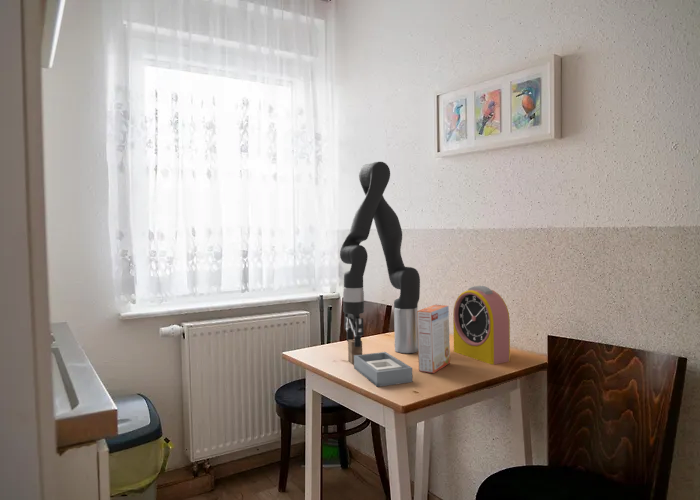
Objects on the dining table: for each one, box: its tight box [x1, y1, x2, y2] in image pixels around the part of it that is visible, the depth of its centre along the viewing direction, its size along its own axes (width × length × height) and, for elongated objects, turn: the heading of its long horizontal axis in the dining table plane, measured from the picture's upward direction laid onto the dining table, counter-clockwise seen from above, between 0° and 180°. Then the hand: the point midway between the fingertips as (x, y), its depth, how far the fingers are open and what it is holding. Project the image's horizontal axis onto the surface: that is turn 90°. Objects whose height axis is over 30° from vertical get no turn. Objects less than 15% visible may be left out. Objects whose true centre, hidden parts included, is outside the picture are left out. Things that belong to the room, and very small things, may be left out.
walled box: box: [353, 351, 413, 388], centre depth 156 cm, size 12×21×4 cm, turn 19°
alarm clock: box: [452, 285, 511, 365], centre depth 176 cm, size 21×9×26 cm, turn 27°
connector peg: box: [347, 338, 363, 365], centre depth 171 cm, size 4×4×8 cm
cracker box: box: [417, 304, 451, 374], centre depth 163 cm, size 14×6×21 cm, turn 145°
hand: (353, 344), depth 171 cm, fingers open, 8 cm apart
